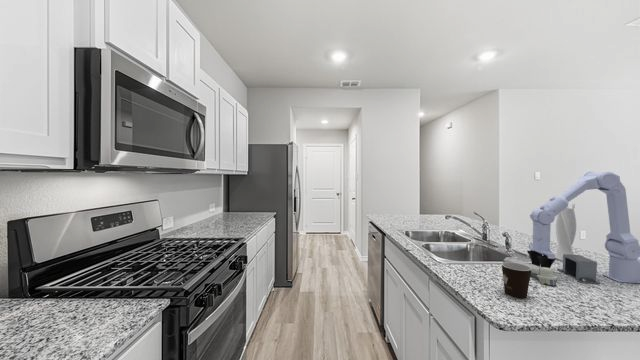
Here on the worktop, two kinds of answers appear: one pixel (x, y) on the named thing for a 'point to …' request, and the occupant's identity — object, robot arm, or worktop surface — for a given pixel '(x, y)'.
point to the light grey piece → (537, 271)
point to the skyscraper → (565, 231)
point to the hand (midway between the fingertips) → (540, 270)
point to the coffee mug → (516, 279)
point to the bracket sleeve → (580, 268)
